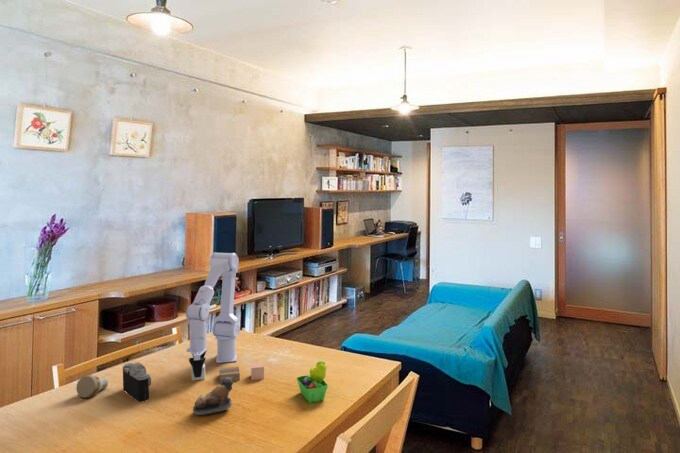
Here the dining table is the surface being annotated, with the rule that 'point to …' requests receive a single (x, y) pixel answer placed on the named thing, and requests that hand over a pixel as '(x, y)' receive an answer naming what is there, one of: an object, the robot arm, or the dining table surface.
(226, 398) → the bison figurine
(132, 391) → the camera
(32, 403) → the dining table surface
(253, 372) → the terracotta block
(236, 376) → the walnut base
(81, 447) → the dining table surface
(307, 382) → the fruit basket
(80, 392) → the grey stepped cylinder
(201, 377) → the grey block
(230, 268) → the robot arm
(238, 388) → the dining table surface
